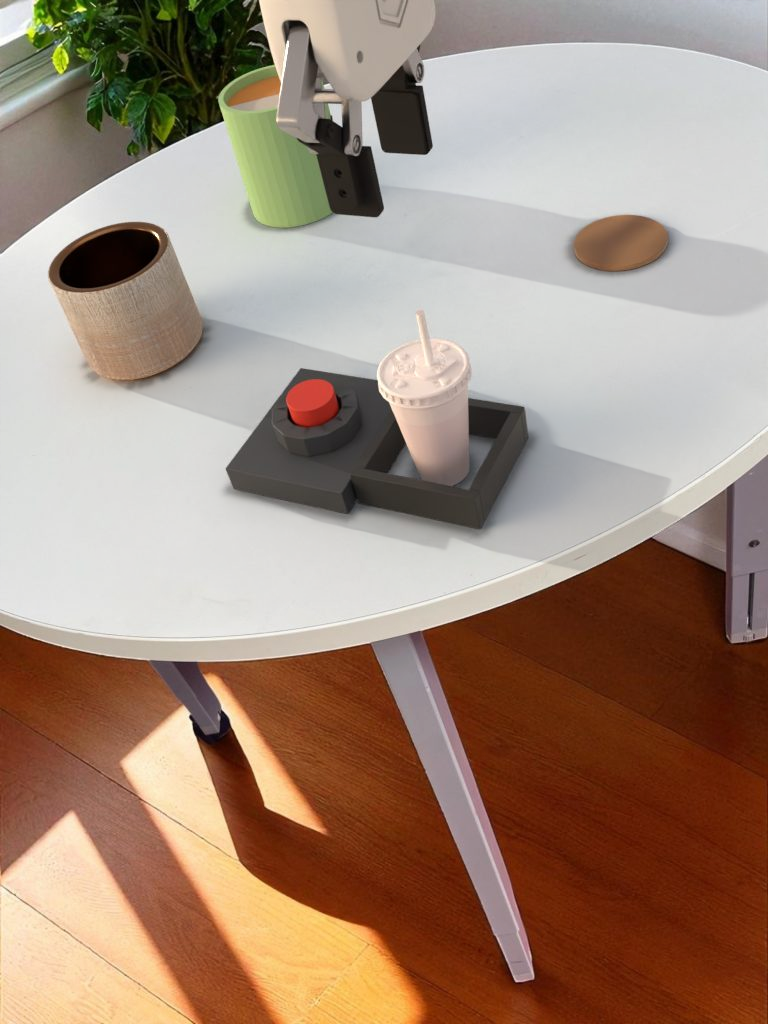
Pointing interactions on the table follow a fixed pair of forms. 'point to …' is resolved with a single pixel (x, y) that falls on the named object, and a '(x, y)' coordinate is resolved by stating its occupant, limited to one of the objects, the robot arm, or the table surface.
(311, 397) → the stop button
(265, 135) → the mug
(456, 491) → the frame
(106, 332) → the planter
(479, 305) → the table surface
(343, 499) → the button base
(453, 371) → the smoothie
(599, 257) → the coaster
